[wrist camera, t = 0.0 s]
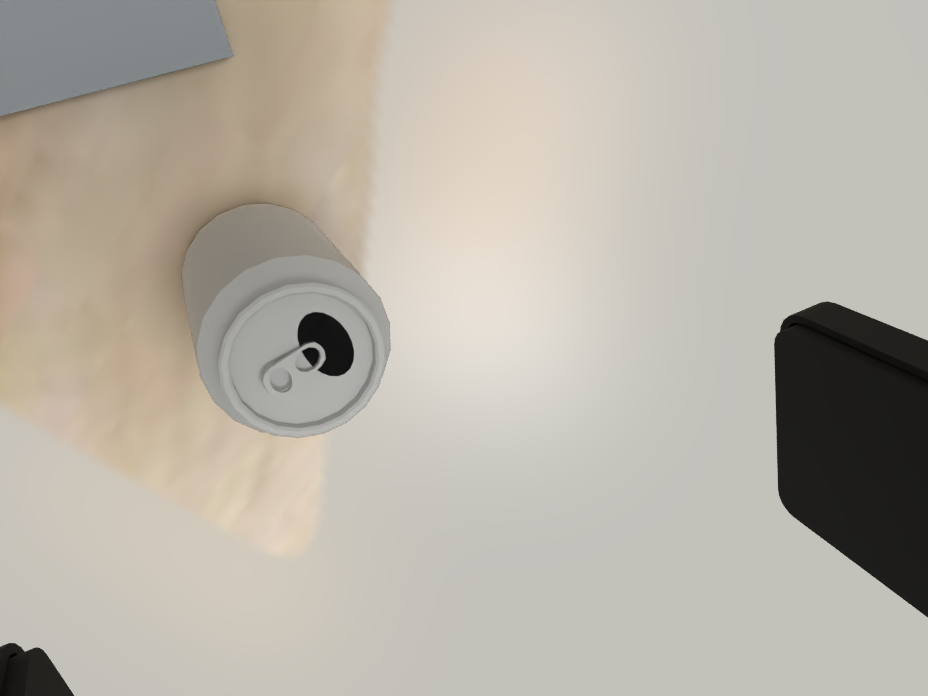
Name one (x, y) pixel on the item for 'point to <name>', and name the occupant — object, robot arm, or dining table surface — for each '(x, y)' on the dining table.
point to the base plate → (99, 45)
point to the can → (282, 322)
